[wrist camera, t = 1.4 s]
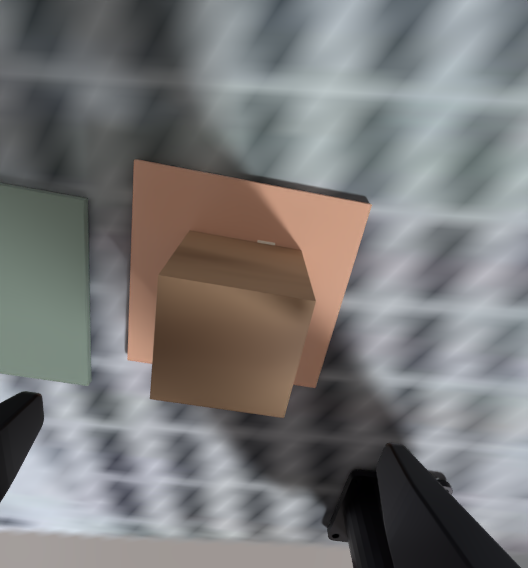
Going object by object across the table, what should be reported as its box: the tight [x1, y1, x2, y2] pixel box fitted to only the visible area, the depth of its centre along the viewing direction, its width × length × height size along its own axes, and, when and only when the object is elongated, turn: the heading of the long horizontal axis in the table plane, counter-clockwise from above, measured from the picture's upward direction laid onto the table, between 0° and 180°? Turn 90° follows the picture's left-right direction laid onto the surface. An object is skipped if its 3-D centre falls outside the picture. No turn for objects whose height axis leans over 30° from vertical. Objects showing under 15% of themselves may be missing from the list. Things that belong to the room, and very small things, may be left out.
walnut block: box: [150, 230, 316, 418], centre depth 14 cm, size 5×5×5 cm
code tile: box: [128, 159, 372, 388], centre depth 17 cm, size 10×10×1 cm
